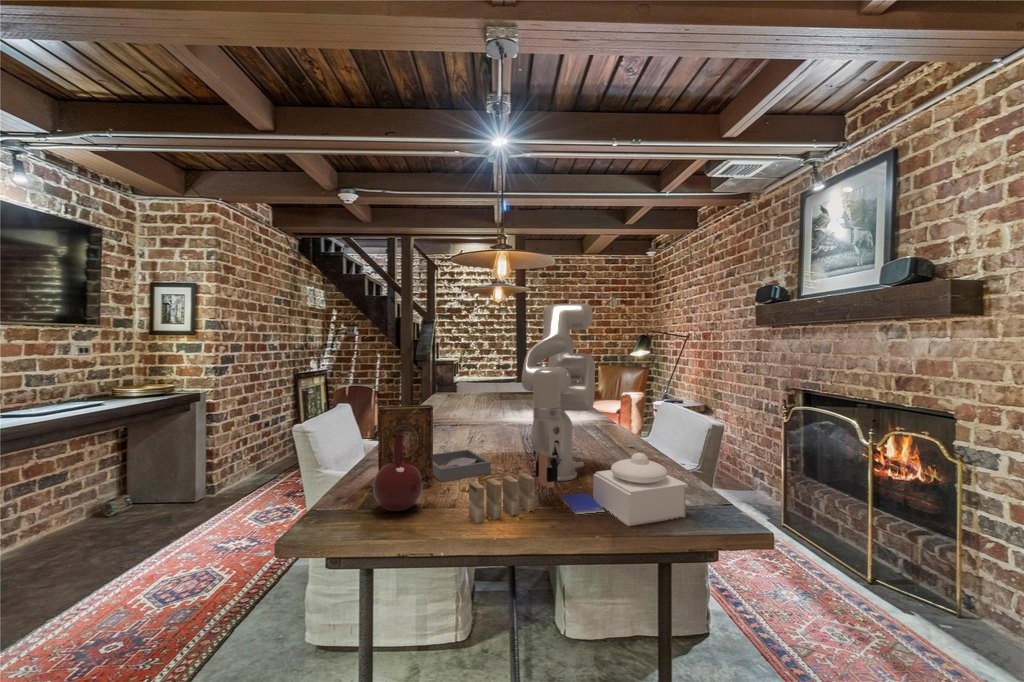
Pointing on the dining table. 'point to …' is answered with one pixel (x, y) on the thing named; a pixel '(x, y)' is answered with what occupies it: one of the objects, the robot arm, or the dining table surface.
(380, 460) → the book
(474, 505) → the domino
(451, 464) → the stone block
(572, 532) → the dining table surface
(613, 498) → the butter dish
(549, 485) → the domino
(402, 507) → the round-bottom flask
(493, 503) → the domino
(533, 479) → the domino
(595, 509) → the hard drive
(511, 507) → the domino
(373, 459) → the dining table surface
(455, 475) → the slate frame
